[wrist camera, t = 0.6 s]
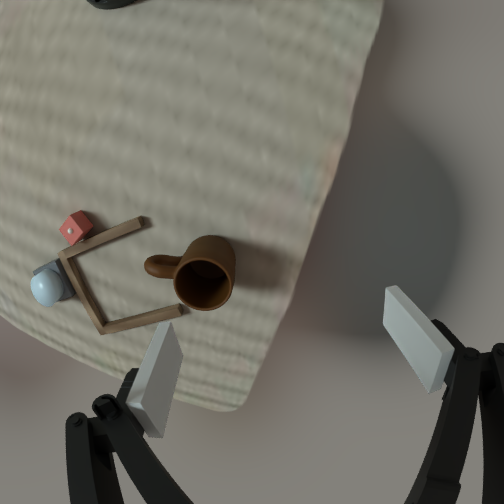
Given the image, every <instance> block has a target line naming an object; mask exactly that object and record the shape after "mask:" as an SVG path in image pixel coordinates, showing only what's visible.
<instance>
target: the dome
mask: <svg viewBox="0 0 504 504" xmlns="http://www.w3.org/2000/svg"><path fill="white" fill-rule="evenodd" d="M31 290H32V293H33V295H34V297H35V298H36V299H37V301H38V302H39V303H41V304H42V305H44V306H47V307H50V306H52V305H53V304H54V303H55V302H56V301H57V300H58V299H60V298H61V297H62V295H63V292H64V287H63V283H62V280H61V279H60V277H59V276H58V274H57V273H56V272H54V271H53V270H51V269H44V270H42V271H41V272H40V273H38V274H37V275H36V276H34V277H33V278H32V280H31Z"/></svg>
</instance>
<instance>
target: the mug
mask: <svg viewBox="0 0 504 504" xmlns="http://www.w3.org/2000/svg"><path fill="white" fill-rule="evenodd" d="M235 264H236V259H235V253H234V251H233V249H232V247H231V246H230V244H229V243H228V242H227V241H225V240H224V239H222V238H220V237H217V236H213V235H207V236H202V237H199V238H198V239H196V240H194V241H193V242H192V243H191V244H190V246H189V247H188V249H187V250H186V252H185V253H184V255H183V256H179V257H176V256H169V255H154V256H151V257H149V258H147V259H146V261H145V263H144V268H145V270H146V272H147V273H148V274H150V275H152V276H154V277H157V278H167V279H174V280H173V283H174V289H175V292H176V294H177V296H178V297H179V298H180V300H181V301H182V302H183V303H184V304H186V305H187V306H189V307H191V308H193V309H196V310H201V311H209V310H214V309H217V308H219V307H221V306H222V305H223V304H225V303H226V302H227V301H228V299H229V298H230V296H231V293H232V289H233V286H234V279H235Z"/></svg>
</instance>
